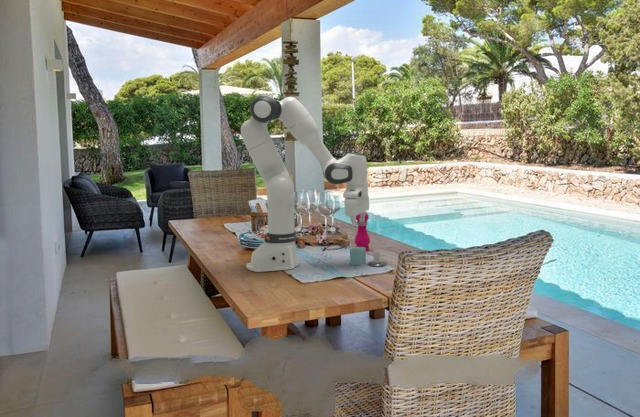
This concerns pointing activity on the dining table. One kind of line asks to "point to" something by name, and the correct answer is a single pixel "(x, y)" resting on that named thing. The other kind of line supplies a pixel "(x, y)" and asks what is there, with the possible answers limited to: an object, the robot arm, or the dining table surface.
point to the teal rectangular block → (358, 255)
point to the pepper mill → (362, 233)
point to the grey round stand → (377, 260)
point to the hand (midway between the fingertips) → (358, 223)
